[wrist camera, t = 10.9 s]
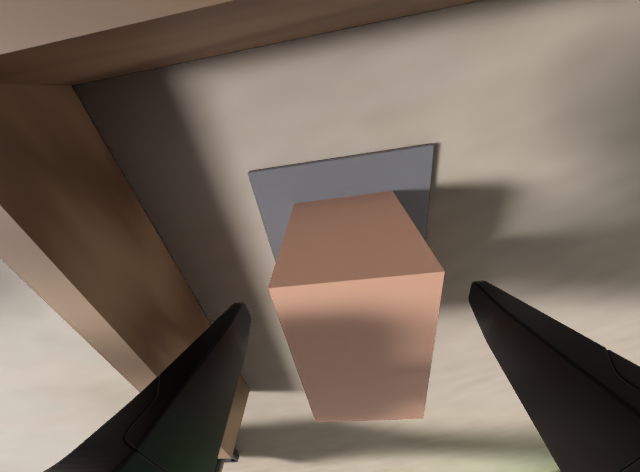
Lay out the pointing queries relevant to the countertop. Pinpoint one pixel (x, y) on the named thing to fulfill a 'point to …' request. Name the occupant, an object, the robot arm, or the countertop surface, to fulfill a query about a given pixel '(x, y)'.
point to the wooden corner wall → (102, 170)
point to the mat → (344, 185)
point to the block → (358, 307)
